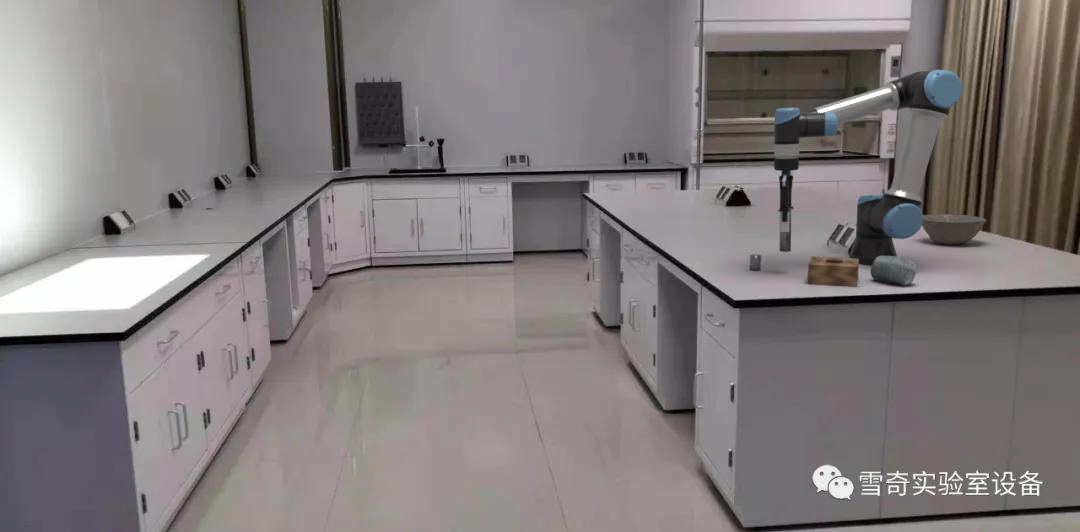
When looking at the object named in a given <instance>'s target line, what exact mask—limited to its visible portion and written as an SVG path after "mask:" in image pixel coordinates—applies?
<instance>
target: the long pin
mask: <svg viewBox="0 0 1080 532" xmlns="http://www.w3.org/2000/svg"><path fill="white" fill-rule="evenodd" d="M789 211H790V215H789V232H780V231H779V250H778V251H779V252H782V253H788V252H791V251H792V248H791V247H792V209H791V208H790V207H789Z"/></svg>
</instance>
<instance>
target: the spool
mask: <svg viewBox="0 0 1080 532" xmlns="http://www.w3.org/2000/svg"><path fill="white" fill-rule="evenodd" d="M870 266H871V267H870V268H871V269H870V276H871V278H872V279H874V280H875V281H877V282H885V283H891V284H895V285H900V286H909V285H910V284H911V283H913V281H914V279H915V276H916V274H917V266H916V264H915V263H914V262H913V261H911V260H910V259H907V258H905V257H904V258H903V257H900V256H897V257H896V256H878V257H877V258H875V260H874V261H873V263H872V265H870Z"/></svg>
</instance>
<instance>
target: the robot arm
mask: <svg viewBox="0 0 1080 532" xmlns="http://www.w3.org/2000/svg"><path fill="white" fill-rule="evenodd" d="M963 89H964V88H963V82H962V80H961V79H960V77H959V76H958V74H956V73H955V72H953V71H951V70H946V69H939V68H938V69H934V70H922V71H916V72H913V73H910V74H907V75H905V76H902V77H900V78H897V79H895V80H890V81H888V82H886V83H885V84H884V85H883V87H880V88H876V89H873V90H869V91H866V92H863V93H860V94H856V95H853V96H850V97H845V98H843V99H840V100H837V101H833V102H830V103H827V104H824V105H820V106H817V107H814V108H812V109H811V108H810V109H808V110H804V111H801V110H800V108H799V107H783V108H782V107H781V108H777V109H776V110H775V112H774V122H773V125H774V129H773V130H774V131H773V133H774V143H773V144H774V146H773V147H772V148H771V150H772V151H774V152H773V154H774V155H773V156H774V157H775V158H774V159H773V169H774V171H779V172H780V171H781V174H780V175H779V178H778V180H779V209H778V210H777V211H778V212H779V233H780V232H789V215H790V211H789V207H790V208H791V210H794V206H792V192H793V191H792V190H793V180H794V175H793V174H792V171H798V170H799V167H800V166H799V165H800V159H799V158H798V157H799V156H800V138H801V139H802V138H822V137H824V138H826V137H833V136H834V135H837V132H838V129H839V125H841V124H844V123H848V122H851V121H855V120H857V119H861V118H865V117H868V116H872V115H874V114H878V113H880V112H884V111H887V110H890V111H893V112H894V111H899V110H902V109H908V110H909V112H910V114H911V119H910V123H909V126H908V130H907V133H906V136H905V139H904V143H903V146H902V150H901V153H900V156H899V159H898V162H897V166H896V169H895V174H894V177H893V180H892V183H891V187H890V188H889V189H887V190H885V192H883V194H870V195H868V194H867V195H866V194H865V195H861V196H859V197H858V200H857V204H856V208H857V209H856V227H855V230H856V231H855V232H856V233H855V240H854V243H853V244H852V247H851V250H850V251H849V257H848V258H856V259H859V264H862V265H870V266H872V263H873V261H874V260H875V258H877V257H878V256H896V257H898V255H897V252H896V247H895V246H894V245H895V244H894V240H893V239H899V240H904V239H909V238H910V237H913V236H914V235H916V234H918V232H919V231H920V230H921V228H922V227H923V226H922V223H923V215H924V214H923V213H922V210H921V206H922V203H923V200H922V198H921V196H920V192H921V187H922V185H923V181H924V179H925V174H926V171H927V169H928V165H929V162H930V158H931V155H932V152H933V148H934V146H935V142H936V139H937V137H938V133H939V132H938V131H939V129H940V126H941V122H942V121H943V120H945V119H947V118H948V117H949V114H950V110H951V108H952V107H953V106H955V105H956V104H958V103H959V101H960V100H961V98H962V96H963V91H964V90H963Z"/></svg>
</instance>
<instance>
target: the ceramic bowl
mask: <svg viewBox="0 0 1080 532" xmlns="http://www.w3.org/2000/svg"><path fill="white" fill-rule="evenodd" d="M986 222H987V219H986V218H983V217H979V216H973V215H966V214H951V213H949V214H942V213H940V214H923V223H922V226H921V227H922V228H923V229H924V231H925V232H926V234H927V235H928V237H929V238H930V239H931V240H932V241H933V242H935V243H938V244H944V245H963V244H966V243H967V242H970V241H972V239H974V238H975V237H976V236H977V235H978V234H979V233H980V231H981V229H982V228H983V226H984V224H985V223H986Z"/></svg>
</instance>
